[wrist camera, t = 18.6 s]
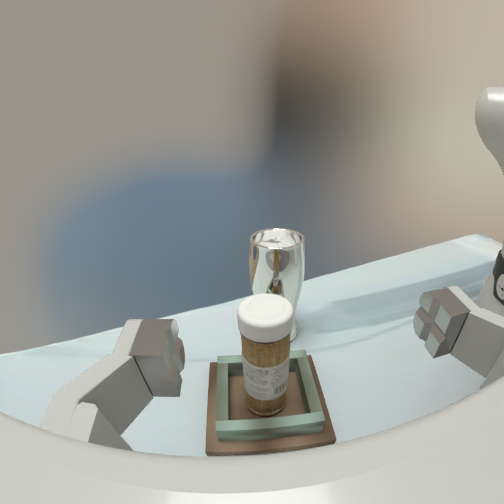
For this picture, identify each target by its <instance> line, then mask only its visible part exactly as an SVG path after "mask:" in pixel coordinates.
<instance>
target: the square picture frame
mask: <svg viewBox="0 0 504 504" xmlns="http://www.w3.org/2000/svg"><path fill="white" fill-rule="evenodd" d="M335 441H336V437H335V433H334V430H333V426H332V423H331V420H330V416H329V413H328V409H327V406H326V403H325V399H324V396H323V393H322V389H321V386H320V383H319V380H318V376H317V373H316V370H315V367H314V363H313V360H312V357H311V355H306V352H305V350H297V351H290V361H289V373H288V384H287V389H286V404H285V406H284V408H283V409H282V410H281V411H280V412H279V413H277V414H275V415H271V416H259V415H256V414H254V413H253V412H251V411H250V410H249V409H248V407H247V405H246V389H245V385H244V374H243V363H242V355H234V356H218V361H217V362H213V363H210V371H209V388H208V406H207V428H206V454H207V455H250V454H265V453H275V452H284V451H292V450H300V449H306V448H312V447H318V446H323V445H329V444H334V443H335Z"/></svg>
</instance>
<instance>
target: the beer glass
mask: <svg viewBox="0 0 504 504" xmlns="http://www.w3.org/2000/svg"><path fill="white" fill-rule="evenodd" d="M250 241H251V242H250V279H251V284H252V289H253V294H254V295H256V294H264V293H268V294H276V295H279V296H282V297H284V298H286V299H287V300H288V301H289V302H290V303H291V304H292V306H293V310H294V317H293V328H292V331H291V334H290V342H291V341H293V340H294V338H295V337H296V334H297V328H296V322H295V312H296V307H297V303H298V300H299V296H300V293H301V289H302V284H303V279H304V270H305V269H304V268H305V254H304V252H305V251H304V236H303V235H302V234H301V233H299V232H296V231H294V230H290V229H283V228H271V229H264V230H260V231H258V232H255V233H254V234H253V235H252V236H251V237H250Z"/></svg>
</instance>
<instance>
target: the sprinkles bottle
mask: <svg viewBox="0 0 504 504" xmlns="http://www.w3.org/2000/svg"><path fill="white" fill-rule="evenodd" d="M237 317H238V328H239V331H240V334H241V340H242V363H243V374H244V385H245V389H246V405H247V407H248V409H249V410H250V411H251V412H253V413H254V414H256V415H259V416H271V415H275V414H277V413H279V412H280V411H281V410H282V409H283V408H284V406H285V404H286V389H287V384H288V373H289V361H290V334H291V331H292V328H293V317H294V310H293V306H292V304H291V303H290V302H289V301H288V300H287V299H286V298H284V297H282V296H279V295H276V294H268V293H264V294H256V295H253V296H250V297H248V298H246V299H245V300H243V301H242V302H241V303H240V305H239V307H238V310H237Z"/></svg>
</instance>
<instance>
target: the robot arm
mask: <svg viewBox="0 0 504 504" xmlns="http://www.w3.org/2000/svg"><path fill="white" fill-rule="evenodd" d="M475 121H476V126H477V130H478V133H479V135H480V137H481V139H482V141H483V143H484V144H485V146H486V147H487V149H488V150H489V151H490V152H491V153H492V154H493V156H494V157H495V159H496V160H497V162H498V163H499V165H500V167H501V169H502V171H503V174H504V87H486V88H485V89H484V90H483V91H482V92H481V94H480V96H479V97H478V99H477V103H476V107H475ZM419 304H420V308H419V309H418V310H417V312H416V313H415V316H414V320H413V323H414V330H415V333H416V334H417V336H418V337H419V338H420V339H422V340H424V341H425V347H426V349H427V350H428V352H429V353H430V355H431V356H432V357H433V358H436V357H439V356H443V355H446V354H449V353H450V354H451V355H452V356H454V357H455V358H457V359H458V360H460V361H461V362H463V363H464V364H465V365H467V366H468V367H470V368H471V369H473V370H474V371H476V372H477V373H479V374H480V375H481V376H483V377H484V378H485V380H484V381H483V383H482V384H481V385H480V390H479V391H477V392H475V393H473V394H471V395H469V396H467V397H465V398H464V399H462V400H460V401H457V402H455V403H453V404H451V405H449V406H447V407H445V408H443V409H440V410H438V411H436V412H433V413H431V414H429V415H426V416H424V417H421V418H419V419H416V420H414V421H411V422H408V423H405V424H403V425H400V426H397V427H394V428H391V429H388V430H385V431H382V432H378V433H375V434H372V435H368V436H365V437H361V438H357V439H353V440H349V441H345V442H341V443H336V444H332V445H327V446H322V447H316V448H311V449H305V450H298V451H291V452H284V453H275V454H265V455H252V456H232V457H196V456H176V455H163V454H153V453H145V452H137V451H133V450H132V448H131V447H130V446H129V445H128V444H127V442H126V441H125V440H124V439H123V438H122V437H121V436H120V435H121V434H122V433H123V432H124V431H125V430H126V429H127V427H128V426H129V425H130V424H131V423H132V422H133V421H134V419H135V418H136V417H137V416H138V415H139V414H140V413H141V411H142V410H143V409H144V408H145V407H146V406H147V405H148V403H149V402H150V401H151V400H152V399H153V396H157V397H180V390H181V384H182V378H181V375H180V372H181V371H182V370H183V369H184V363H185V353H184V346H183V343H182V340H181V339H180V338H178V337H177V336H178V331H179V328H178V325H177V322H176V320H174V319H144V320H142V319H130V320H128V321H127V322H126V324H125V326H124V328H123V330H122V332H121V335H120V337H119V339H118V342H117V344H116V346H115V349H114V351H113V353H112V355H107V356H105V357H104V358H103V359H101V360H100V361H98V362H97V363H96V364H94V365H93V366H92V367H90V368H89V369H88V370H86V371H85V372H84V373H82V374H81V375H80V376H78V377H77V378H76V379H74V380H73V381H71V382H70V383H69V384H67V385H66V386H65V387H63V388H62V389H61V390H59V391H58V392H57V393H55V394H54V395H53V397H52V400H51V402H50V404H49V406H48V408H47V411H46V413H45V415H44V418H43V420H42V423H41V425H40V428H38V427H36V426H33V425H30V424H28V423H25V422H23V421H20V420H18V419H15V418H13V417H11V416H8V415H6V414H4V413H2V412H0V504H504V243H503V247H502V250H500V251H499V253H498V256H497V258H496V261H495V266H494V269H493V274H492V275H490V276H488V277H487V278H486V280H485V283H484V285H483V287H482V289H481V292H480V294H479V296H478V298H477V300H476V302H475V303H474V302H473V301H472V300H471V299H470V298H469V297H468V296H467V295H466V294H465V293H464V292H463V291H462V290H461V289H460V288H458V287H457V286H449V287H445V288H443V289H438V290H433V291H428V292H424V293H423V294H422V295H421V297H420V300H419Z"/></svg>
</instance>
